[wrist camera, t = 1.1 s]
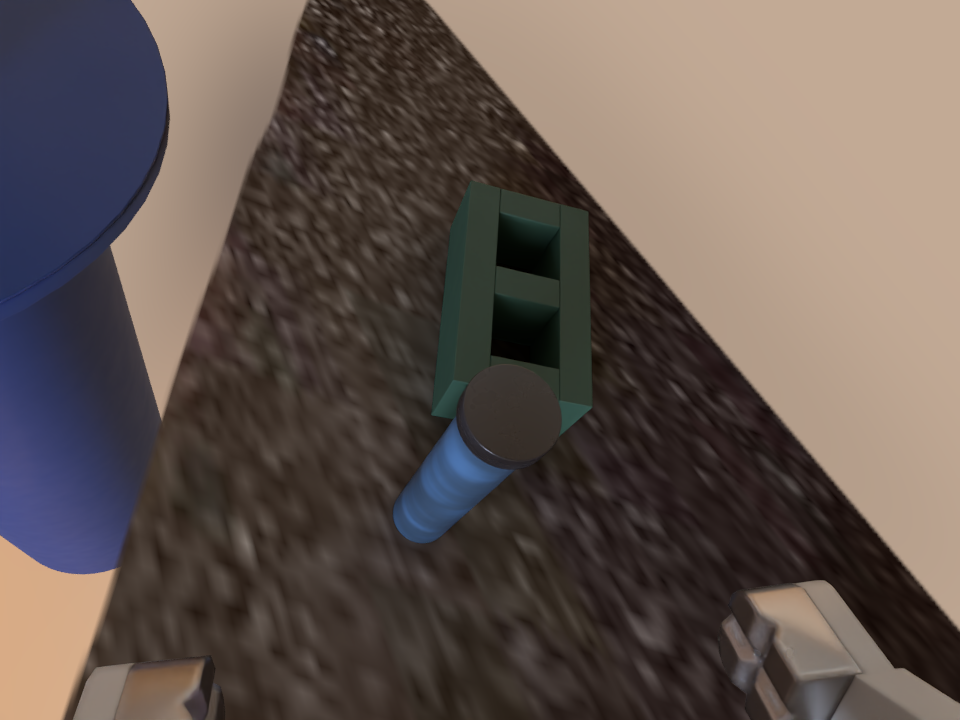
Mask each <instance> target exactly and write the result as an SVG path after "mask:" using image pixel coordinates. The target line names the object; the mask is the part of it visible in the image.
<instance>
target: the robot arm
mask: <svg viewBox="0 0 960 720" xmlns="http://www.w3.org/2000/svg"><path fill="white" fill-rule="evenodd" d="M728 606H729V608H730V609H731V611H732V613H733V614H731V615H730V616H729V617H728V618H727V619H726V620H724V621H723V622H722V624H721V627H720V630H719V634H718V644H719V654H720V657H721V660H722V663H723V666H724V668H725V670H726V672H727V674H728V676H729V678H730V681H731V682H732V683H733V684H735V685H736V686H737V687H739V688H740V689H741V690H743V691H744V692H745V693H747V696H746V703H745V710H746V712H747V714H748V716H749V718H750V719H751V720H960V704H959V703H957V702H956V701H954V700H953V699H951V698H950V697H948V696H946V695H945V694H943V693H942V692H940V691H939V690H937V689H935V688H934V687H932V686H931V685H929V684H928V683H926V682H924V681H923V680H921V679H920V678H918V677H917V676H915V675H913V674H912V673H910V672H909V671H907V670H906V669H904V668H900V669H894V667H893V666H892V665H891V663H890V662H889V661H888V659H887V658H886V657H885V655H884V654H883V653H882V651H881V650H880V649H879V647H878V646H877V645H876V643H875V642H874V641H873V639H872V638H871V637H870V635H869V634H868V633H867V631H866V630H865V629H864V627H863V626H862V625H861V623H860V622H859V621H858V619H857V618H856V617H855V615H854V614H853V613H852V611H851V610H850V609H849V607H848V606H847V605H846V603H845V602H844V601H843V599H842V598H841V597H840V595H839V594H838V593H837V591H836V590H835V589H834V588H833V586H832V585H830V584H829V583H827V582H826V581H822V580H816V581H809V582H802V583H795V584H792V583H788V584H781V585H773V586H766V587H759V588H752V589H745V590H738V591H737V592H735V593H734V594H732V596H731V599H730V601H729V604H728ZM214 675H215V666H214V663H213V660H212V657H211V655H208V656H199V657H189V658H180V659H171V660H162V661H152V662H143V663H130V664H122V665H114V666H106V667H98V668H95V670H94V671H93V673H92V674H91V675H90V677H89V678H88V680H87V682H86V684H85V687H84V690H83V693H82V696H81V699H80V701H79V704H78V707H77V710H76V713H75V716H74V718H73V720H225V706H224V697H223V693H222V690H221V687H220V686H218V685H216V684H214V683H213V680H214Z"/></svg>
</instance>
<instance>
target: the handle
mask: <svg viewBox="0 0 960 720" xmlns="http://www.w3.org/2000/svg"><path fill="white" fill-rule="evenodd" d="M561 425H562V414H561V409H560V405H559V402H558V400H557V398H556V395H555V394H554V392H553V390H552V389H551V388H550V386H549V385H548V384H547V383H546V382H545V381H544V380H543V379H542V378H541V377H540V376H538V375H537V374H535V373H534V372H532V371H530V370H528V369H526V368H523V367H521V366H517V365H511V364H500V365H494V366H490V367H488V368H485V369H484V370H482V371H480V372H479V373H478V374H476V375H475V376H474V377H473V378H472V379H471V381H470V382H469V384H468V385H467V387H466V388H465V390H464V391H463V393H462V394H461V396H460V398H459V401H458V404H457V409H456V416H455V418H454V419H453V420H452V422H451V423H450V425H449V426H448V427H447V429H446V430H445V432H444V433H443V434H442V436H441V437H440V439H439V440H438V441H437V443H436V444H435V446H434V447H433V449H432V450H431V451H430V453H429V454H428V456H427V457H426V458H425V460H424V461H423V463H422V464H421V465H420V467H419V468H418V470H417V471H416V472H415V474H414V475H413V477H412V478H411V479H410V481H409V482H408V484H407V485H406V486H405V488H404V489H403V491H402V492H401V494H400V495H399V496H398V498H397V500H396V502H395V504H394V508H393V518H394V522H395V525H396V527H397V529H398V530H399V532H400V533H401V534H402V535H403V536H404V537H405V538H407V539H409V540H411V541H413V542H416V543H429V542H432V541H434V540H436V539H438V538H439V537H441V536H442V535H443V534H444V533H445V532H446V531H447V530H448V529H450V528H451V527H452V526H453V525H454V524H455V523H456V522H457V521H458V520H460V519H461V518H462V517H463V516H464V515H465V514H466V513H467V512H469V511H470V510H471V509H472V508H473V507H474V506H475V505H476V504H477V503H479V502H480V501H481V500H482V499H483V498H484V497H485V496H486V495H488V494H489V493H490V492H491V491H492V490H493V489H494V488H495V487H497V486H498V485H499V484H500V483H501V482H502V481H503V480H504V479H505V478H507V477H508V476H509V475H510V474H511V473H512V472H513V471H514V470H516V469H521V468H525V467H528V466H530V465H532V464H534V463H535V462H536V461H538V460H539V459H540V458H541V457H543V456H544V455H545V454H546V453H547V452H548V451H549V450H550V449H551V448H552V447H553V446H554V445H555V443H556V441H557V439H558V437H559V434H560V431H561Z"/></svg>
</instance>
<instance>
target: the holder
mask: <svg viewBox="0 0 960 720" xmlns="http://www.w3.org/2000/svg"><path fill="white" fill-rule="evenodd" d="M496 262H498V263H502V264H506V265H511V266H515V267H519V268H523V269H527V270H532V274H529V273H525V272H520V271H516V270H512V269H508V268H504V267H499V266H496ZM492 338H494V339H498V340H503V341H508V342H513V343H517V344H522V345H527V346H530V363H526V362H521V361H516V360H511V359H507V358H502V357H497V356H490V355H491V339H492ZM500 364H511V365H517V366H521V367H523V368H526V369H528V370H530V371H532V372H534V373H535V374H537V375H538V376H540V377H541V378H542V379H543V380H544V381H545V382H546V383H547V384H548V385H549V386H550V388H551V389H552V390H553V392H554V394H555V395H556V398H557V400H558V402H559V405H560V409H561V414H562V425H561V431H560V434H559V436H560V435H561V434H562V433H564V432H565V431H566V430H567V429H568V428H569V427H570V426H572V425H573V424H574V423H575V422H576V421H577V420H578V419H580V418H581V417H582V416H583V415H584V414H585V413H586V412H588V411H589V410H590V409H591V408H592V407H593V404H592V359H591V315H590V270H589V226H588V211H584V210H581V209H577V208H573V207H569V206H566V205H562V204H557V203H554V202H550V201H546V200H542V199H539V198H535V197H531V196H527V195H524V194H520V193H516V192H512V191H508V190H505V189H501V190H500V188H498V187H494V186H490V185H487V184H483V183H479V182H475V181H470V184H469V186H468V188H467V191H466V193H465V196H464V198H463V200H462V203H461V205H460V207H459V210H458V212H457V214H456V217H455V219H454V221H453V224H452V226H451V229H450V239H449V249H448V258H447V268H446V277H445V287H444V297H443V306H442V316H441V326H440V335H439V345H438V355H437V364H436V374H435V383H434V393H433V403H432V412H431V415H433V416H439V417H444V418H450V419H454V418H455V416H456V409H457V404H458V401H459V398H460V396H461V394H462V393H463V391H464V390H465V388H466V387H467V385H468V384H469V382H470V381H471V379H472V378H473V377H474V376H475V375H476V374H478V373H479V372H480V371H482V370H484V369H485V368H488V367H490V366H494V365H500Z"/></svg>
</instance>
